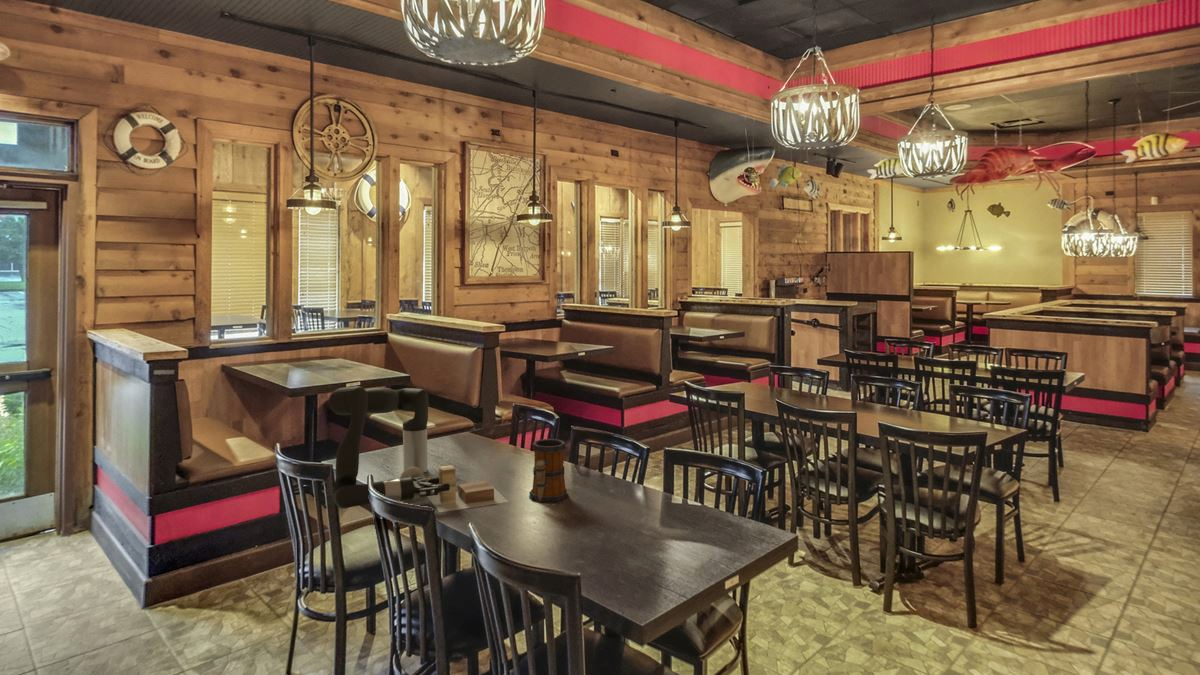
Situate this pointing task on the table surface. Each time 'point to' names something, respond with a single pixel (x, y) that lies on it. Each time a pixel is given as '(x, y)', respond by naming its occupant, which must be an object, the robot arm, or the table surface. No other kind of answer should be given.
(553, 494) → the mug
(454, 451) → the table surface
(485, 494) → the walnut base
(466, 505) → the build mat
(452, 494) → the maple pillar
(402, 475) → the donut
